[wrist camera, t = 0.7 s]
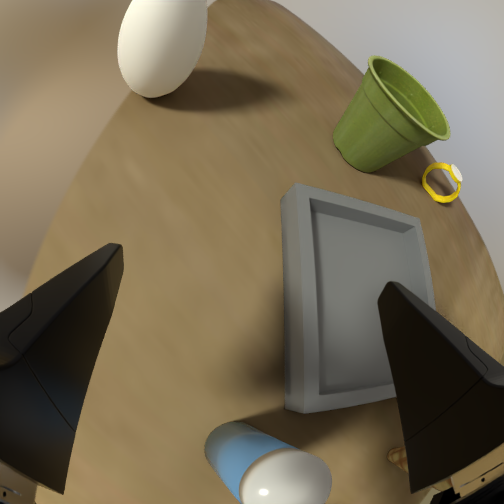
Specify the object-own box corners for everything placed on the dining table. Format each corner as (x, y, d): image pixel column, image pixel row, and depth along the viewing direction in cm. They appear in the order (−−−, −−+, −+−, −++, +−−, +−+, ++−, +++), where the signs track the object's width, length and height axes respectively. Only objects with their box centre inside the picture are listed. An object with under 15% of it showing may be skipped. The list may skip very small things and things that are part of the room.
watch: (440, 200, 39) (469, 185, 34) (437, 211, 38) (468, 195, 33) (417, 171, 39) (446, 152, 34) (414, 180, 37) (445, 161, 32)
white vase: (164, 64, 29) (204, -71, 13) (201, 100, 29) (263, -51, 13) (103, 84, 25) (123, -71, 10) (137, 126, 25) (172, -60, 9)
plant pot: (331, 185, 30) (400, 118, 21) (305, 107, 34) (352, 41, 24) (402, 196, 35) (465, 150, 25) (373, 126, 39) (421, 77, 29)
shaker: (262, 471, 18) (328, 516, 10) (204, 475, 17) (246, 535, 9) (262, 420, 20) (333, 446, 12) (204, 422, 18) (247, 459, 10)
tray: (418, 385, 26) (440, 384, 23) (284, 408, 21) (304, 413, 18) (401, 229, 32) (419, 218, 30) (280, 199, 27) (295, 182, 25)
